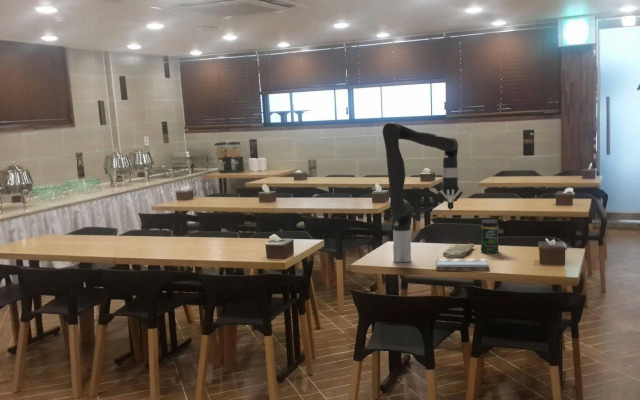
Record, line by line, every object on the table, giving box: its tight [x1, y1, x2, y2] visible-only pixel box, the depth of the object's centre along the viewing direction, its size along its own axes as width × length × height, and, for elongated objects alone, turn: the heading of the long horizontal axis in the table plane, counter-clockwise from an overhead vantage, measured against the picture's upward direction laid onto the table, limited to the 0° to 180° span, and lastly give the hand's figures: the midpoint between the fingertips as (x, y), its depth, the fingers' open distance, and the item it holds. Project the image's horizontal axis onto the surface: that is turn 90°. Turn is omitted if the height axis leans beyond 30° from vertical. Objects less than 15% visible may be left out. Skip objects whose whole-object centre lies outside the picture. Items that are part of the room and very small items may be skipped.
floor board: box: [435, 258, 490, 272], centre depth 316 cm, size 26×16×3 cm, turn 80°
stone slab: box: [442, 243, 475, 259], centre depth 349 cm, size 12×4×30 cm
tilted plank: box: [436, 260, 489, 267], centre depth 313 cm, size 25×8×1 cm, turn 80°
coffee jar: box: [480, 219, 500, 254], centre depth 347 cm, size 10×8×19 cm
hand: (450, 209), depth 321 cm, fingers closed
